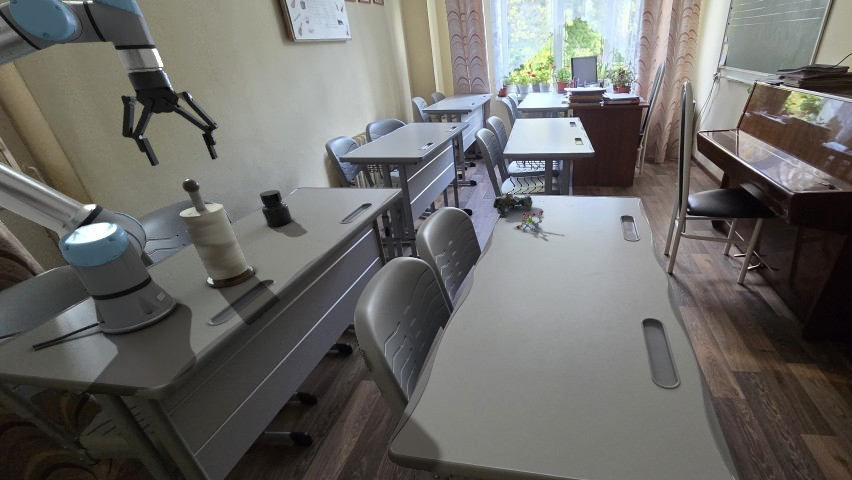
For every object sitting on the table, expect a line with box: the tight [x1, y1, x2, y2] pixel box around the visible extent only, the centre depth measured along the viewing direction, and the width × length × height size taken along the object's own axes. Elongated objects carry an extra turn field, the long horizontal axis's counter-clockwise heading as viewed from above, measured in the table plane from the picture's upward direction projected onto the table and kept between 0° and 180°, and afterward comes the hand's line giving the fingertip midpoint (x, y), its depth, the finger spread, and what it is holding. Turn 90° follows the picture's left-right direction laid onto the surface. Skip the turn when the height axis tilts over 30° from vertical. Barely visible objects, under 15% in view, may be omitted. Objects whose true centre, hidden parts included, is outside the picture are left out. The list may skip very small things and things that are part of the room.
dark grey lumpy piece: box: [492, 192, 533, 218], centre depth 153 cm, size 12×11×15 cm
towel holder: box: [179, 178, 255, 288], centre depth 111 cm, size 12×29×12 cm
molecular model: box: [515, 209, 544, 232], centre depth 137 cm, size 7×8×8 cm
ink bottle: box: [259, 189, 293, 227], centre depth 153 cm, size 10×9×12 cm
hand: (185, 161), depth 105 cm, fingers open, 13 cm apart
